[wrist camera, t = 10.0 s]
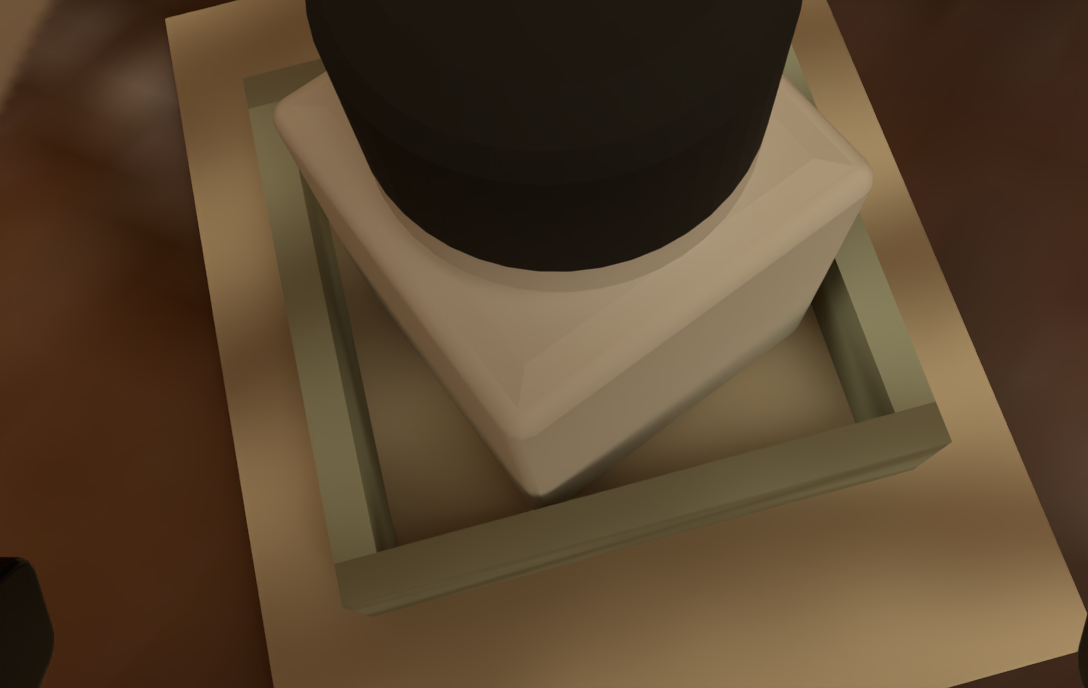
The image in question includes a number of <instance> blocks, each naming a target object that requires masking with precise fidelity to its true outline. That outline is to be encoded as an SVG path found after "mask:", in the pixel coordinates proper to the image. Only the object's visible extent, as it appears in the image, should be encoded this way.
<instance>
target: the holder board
mask: <svg viewBox="0 0 1088 688" xmlns="http://www.w3.org/2000/svg"><path fill="white" fill-rule="evenodd" d="M165 22H166V28H167V34H168V40H169V46H170V52H171V58H172V65H173V71H174V77H175V83H176V89H177V95H178V101H179V108H180V114H181V120H182V126H183V132H184V138H185V144H186V151H187V157H188V163H189V169H190V175H191V181H192V187H193V194H194V200H195V206H196V212H197V218H198V224H199V231H200V237H201V243H202V249H203V255H204V261H205V267H206V274H207V280H208V286H209V292H210V298H211V304H212V310H213V317H214V323H215V329H216V335H217V341H218V347H219V353H220V360H221V366H222V372H223V378H224V384H225V390H226V396H227V403H228V409H229V415H230V421H231V427H232V433H233V439H234V446H235V452H236V458H237V464H238V470H239V476H240V483H241V489H242V495H243V501H244V507H245V513H246V519H247V526H248V532H249V538H250V544H251V550H252V556H253V562H254V569H255V575H256V581H257V587H258V593H259V599H260V605H261V612H262V618H263V624H264V630H265V636H266V642H267V648H268V655H269V661H270V667H271V673H272V679H273V685H274V688H948V687H952V686H955V685H959V684H963V683H966V682H970V681H973V680H977V679H980V678H984V677H988V676H991V675H995V674H998V673H1002V672H1006V671H1009V670H1013V669H1016V668H1020V667H1024V666H1027V665H1031V664H1034V663H1038V662H1041V661H1045V660H1049V659H1052V658H1056V657H1059V656H1063V655H1067V654H1070V653H1074V652H1077V651H1078V647H1079V643H1080V639H1081V635H1082V631H1083V628H1084V624H1085V620H1086V616H1087V612H1086V610H1085V608H1084V605H1083V603H1082V600H1081V598H1080V596H1079V593H1078V591H1077V589H1076V586H1075V584H1074V582H1073V579H1072V577H1071V575H1070V572H1069V570H1068V567H1067V565H1066V563H1065V560H1064V558H1063V556H1062V553H1061V551H1060V549H1059V546H1058V544H1057V542H1056V539H1055V537H1054V535H1053V532H1052V530H1051V527H1050V525H1049V523H1048V520H1047V518H1046V516H1045V513H1044V511H1043V509H1042V506H1041V504H1040V502H1039V499H1038V497H1037V495H1036V492H1035V490H1034V487H1033V485H1032V483H1031V480H1030V478H1029V476H1028V473H1027V471H1026V469H1025V466H1024V464H1023V462H1022V459H1021V457H1020V454H1019V452H1018V450H1017V447H1016V445H1015V443H1014V440H1013V438H1012V436H1011V433H1010V431H1009V429H1008V426H1007V424H1006V422H1005V419H1004V417H1003V414H1002V412H1001V410H1000V407H999V405H998V403H997V400H996V398H995V396H994V393H993V391H992V389H991V386H990V384H989V382H988V379H987V377H986V374H985V372H984V370H983V367H982V365H981V363H980V360H979V358H978V356H977V353H976V351H975V349H974V346H973V344H972V342H971V339H970V337H969V334H968V332H967V330H966V327H965V325H964V323H963V320H962V318H961V316H960V313H959V311H958V309H957V306H956V304H955V301H954V299H953V297H952V294H951V292H950V290H949V287H948V285H947V283H946V280H945V278H944V276H943V273H942V271H941V269H940V266H939V264H938V261H937V259H936V257H935V254H934V252H933V250H932V247H931V245H930V243H929V240H928V238H927V236H926V233H925V231H924V229H923V226H922V224H921V221H920V219H919V217H918V214H917V212H916V210H915V207H914V205H913V203H912V200H911V198H910V196H909V193H908V191H907V189H906V186H905V184H904V181H903V179H902V177H901V174H900V172H899V170H898V167H897V165H896V163H895V160H894V158H893V156H892V153H891V151H890V148H889V146H888V144H887V141H886V139H885V137H884V134H883V132H882V130H881V127H880V125H879V123H878V120H877V118H876V116H875V113H874V111H873V108H872V106H871V104H870V101H869V99H868V97H867V94H866V92H865V90H864V87H863V85H862V83H861V80H860V78H859V76H858V73H857V71H856V68H855V66H854V64H853V61H852V59H851V57H850V54H849V52H848V50H847V47H846V45H845V43H844V40H843V38H842V36H841V33H840V31H839V28H838V26H837V24H836V21H835V19H834V17H833V14H832V12H831V10H830V7H829V5H828V3H827V0H803V1H802V7H801V12H800V15H799V18H798V22H797V25H796V29H795V32H794V36H793V39H792V43H791V46H790V50H789V53H788V57H787V60H786V64H785V67H784V71H783V75H784V76H785V77H786V78H787V79H788V80H789V81H790V82H791V83H792V84H793V85H794V86H795V87H796V88H797V89H798V90H799V91H800V92H801V93H802V94H803V95H804V96H805V97H806V98H807V99H808V100H809V101H810V102H811V103H812V105H813V106H814V107H815V108H816V109H817V110H818V111H819V112H820V113H821V114H822V115H823V116H824V117H825V118H826V119H827V120H828V121H829V122H830V123H831V124H832V125H833V126H834V127H835V128H836V129H837V130H838V131H839V132H840V133H841V134H842V135H843V136H844V137H845V138H846V139H847V141H848V142H849V143H850V144H851V145H852V146H853V147H854V148H855V149H856V150H857V151H858V152H859V153H860V154H861V155H862V156H863V157H864V158H865V159H866V160H867V161H868V163H869V164H870V166H871V168H872V170H873V184H872V188H871V190H870V192H869V194H868V196H867V198H866V199H865V201H864V203H863V205H862V207H861V209H860V211H859V213H858V215H857V216H856V218H855V220H854V222H853V224H852V226H851V228H850V230H849V232H848V233H847V235H846V237H845V239H844V241H843V243H842V245H841V247H840V249H839V250H838V252H837V254H836V256H835V258H834V260H833V262H832V264H831V266H830V267H829V269H828V271H827V273H826V275H825V277H824V279H823V281H822V283H821V284H820V286H819V288H818V290H817V292H816V294H815V296H814V298H813V300H812V301H811V303H810V305H809V307H808V309H807V311H806V313H805V315H804V317H803V318H802V320H801V322H800V324H799V326H798V327H797V328H796V330H795V331H794V332H793V333H791V334H790V335H789V336H787V337H786V338H785V339H783V340H782V341H781V342H779V343H778V344H777V345H775V346H774V347H773V348H771V349H770V350H769V351H767V352H766V353H765V354H763V355H762V356H761V357H759V358H758V359H757V360H755V361H754V362H752V363H751V364H750V365H748V366H747V367H746V368H744V369H743V370H742V371H740V372H739V373H738V374H736V375H735V376H734V377H732V378H731V379H730V380H728V381H727V382H726V383H724V384H723V385H722V386H720V387H719V388H718V389H716V390H715V391H714V392H712V393H711V394H709V395H708V396H707V397H705V398H704V399H703V400H701V401H700V402H699V403H697V404H696V405H695V406H693V407H692V408H691V409H689V410H688V411H687V412H685V413H684V414H683V415H681V416H680V417H679V418H677V419H676V420H675V421H673V422H672V423H671V424H669V425H668V426H666V427H665V428H664V429H662V430H661V431H660V432H658V433H657V434H656V435H654V436H653V437H652V438H650V439H649V440H648V441H646V442H645V443H644V444H642V445H641V446H640V447H638V448H637V449H636V450H634V451H633V452H632V453H630V454H629V455H628V456H626V457H625V458H623V459H622V460H621V461H619V462H618V463H617V464H615V465H614V466H613V467H611V468H610V469H609V470H607V471H606V472H605V473H603V474H602V475H601V476H599V477H598V478H597V479H595V480H594V481H593V482H591V483H590V484H589V485H587V486H586V487H584V488H583V489H582V490H580V491H579V492H578V493H576V494H575V495H574V496H572V497H571V498H570V499H568V500H567V501H566V502H562V503H558V504H555V505H551V506H547V507H543V508H540V509H536V510H534V509H533V508H532V507H531V506H530V505H529V504H528V503H527V501H526V500H525V499H524V497H523V496H522V495H521V493H520V492H519V491H518V489H517V488H516V486H515V485H514V484H513V482H512V481H511V480H510V478H509V477H508V476H507V474H506V473H505V471H504V470H503V469H502V467H501V466H500V465H499V463H498V462H497V461H496V459H495V458H494V456H493V455H492V454H491V452H490V451H489V450H488V448H487V447H486V446H485V444H484V443H483V441H482V440H481V439H480V437H479V436H478V435H477V433H476V432H475V431H474V429H473V428H472V426H471V425H470V424H469V422H468V421H467V420H466V418H465V417H464V416H463V414H462V413H461V411H460V410H459V409H458V407H457V406H456V405H455V403H454V402H453V401H452V399H451V398H450V396H449V395H448V394H447V392H446V391H445V390H444V388H443V387H442V386H441V384H440V383H439V381H438V380H437V379H436V377H435V376H434V375H433V373H432V372H431V371H430V369H429V368H428V366H427V365H426V364H425V362H424V361H423V360H422V358H421V357H420V356H419V354H418V353H417V352H416V350H415V349H414V347H413V346H412V345H411V343H410V342H409V341H408V339H407V338H406V337H405V335H404V334H403V332H402V331H401V330H400V328H399V327H398V326H397V324H396V323H395V322H394V320H393V319H392V317H391V316H390V315H389V313H388V312H387V311H386V309H385V308H384V307H383V305H382V304H381V302H380V301H379V300H378V298H377V297H376V296H375V294H374V293H373V292H372V290H371V289H370V287H369V286H368V285H367V283H366V282H365V281H364V279H363V278H362V276H361V274H360V273H359V271H358V269H357V268H356V266H355V264H354V262H353V261H352V259H351V257H350V255H349V254H348V252H347V250H346V249H345V247H344V245H343V243H342V242H341V240H340V238H339V237H338V235H337V233H336V231H335V230H334V228H333V226H332V225H331V223H330V221H329V219H328V218H327V216H326V214H325V213H324V211H323V209H322V207H321V206H320V204H319V202H318V201H317V199H316V197H315V195H314V194H313V192H312V190H311V188H310V187H309V185H308V183H307V182H306V180H305V178H304V176H303V175H302V173H301V171H300V170H299V168H298V166H297V164H296V163H295V161H294V159H293V158H292V156H291V154H290V152H289V151H288V149H287V147H286V146H285V144H284V142H283V140H282V139H281V137H280V135H279V134H278V132H277V130H276V127H275V124H274V120H273V114H274V110H275V106H276V105H277V104H278V103H279V102H280V101H281V100H282V99H283V98H285V97H286V96H288V95H290V94H291V93H293V92H294V91H296V90H297V89H299V88H300V87H302V86H304V85H305V84H307V83H308V82H310V81H311V80H313V79H315V78H316V77H318V76H319V75H321V74H322V73H324V72H326V69H325V67H324V64H323V62H322V60H321V58H320V55H319V53H318V51H317V49H316V46H315V44H314V42H313V38H312V34H311V30H310V26H309V22H308V18H307V14H306V4H305V0H237V1H233V2H229V3H225V4H221V5H217V6H214V7H210V8H206V9H202V10H198V11H194V12H190V13H186V14H182V15H178V16H174V17H170V18H166V19H165Z"/></svg>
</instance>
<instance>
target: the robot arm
mask: <svg viewBox="0 0 1088 688" xmlns="http://www.w3.org/2000/svg"><path fill="white" fill-rule="evenodd" d="M53 645H54V633H53V627H52V624H51V621H50V617H49V614H48V611H47V608H46V604H45V601H44V598H43V594H42V591H41V588H40V585H39V581H38V578H37V575H36V572H35V569H34V567H33V566H32V565H31V563H30V562H29V561H27V560H26V559H23V558H20V557H0V688H39V687H40V685H41V682H42V680H43V677H44V675H45V672H46V670H47V667H48V665H49V662H50V659H51V656H52V652H53ZM1077 663H1078V671H1079V677H1080V680H1081V684H1082V687H1083V688H1088V613H1087V616H1086V620H1085V624H1084V628H1083V631H1082V635H1081V639H1080V643H1079V647H1078V655H1077Z"/></svg>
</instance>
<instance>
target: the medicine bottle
mask: <svg viewBox="0 0 1088 688" xmlns="http://www.w3.org/2000/svg"><path fill="white" fill-rule="evenodd" d="M802 1H803V0H305V4H306V14H307V18H308V22H309V26H310V30H311V34H312V38H313V42H314V44H315V46H316V49H317V51H318V53H319V55H320V58H321V60H322V62H323V64H324V67H325V69H326V72H324V73H322V74H321V75H319V76H318V77H316V78H315V79H313V80H311V81H310V82H308V83H307V84H305V85H304V86H302V87H300V88H299V89H297V90H296V91H294V92H293V93H291V94H290V95H288V96H286V97H285V98H283V99H282V100H281V101H280V102H279V103H278V104H277V105H276V106H275V110H274V114H273V120H274V124H275V127H276V130H277V132H278V134H279V135H280V137H281V139H282V140H283V142H284V144H285V146H286V147H287V149H288V151H289V152H290V154H291V156H292V158H293V159H294V161H295V163H296V164H297V166H298V168H299V170H300V171H301V173H302V175H303V176H304V178H305V180H306V182H307V183H308V185H309V187H310V188H311V190H312V192H313V194H314V195H315V197H316V199H317V201H318V202H319V204H320V206H321V207H322V209H323V211H324V213H325V214H326V216H327V218H328V219H329V221H330V223H331V225H332V226H333V228H334V230H335V231H336V233H337V235H338V237H339V238H340V240H341V242H342V243H343V245H344V247H345V249H346V250H347V252H348V254H349V255H350V257H351V259H352V261H353V262H354V264H355V266H356V268H357V269H358V271H359V273H360V274H361V276H362V278H363V279H364V281H365V282H366V283H367V285H368V286H369V287H370V289H371V290H372V292H373V293H374V294H375V296H376V297H377V298H378V300H379V301H380V302H381V304H382V305H383V307H384V308H385V309H386V311H387V312H388V313H389V315H390V316H391V317H392V319H393V320H394V322H395V323H396V324H397V326H398V327H399V328H400V330H401V331H402V332H403V334H404V335H405V337H406V338H407V339H408V341H409V342H410V343H411V345H412V346H413V347H414V349H415V350H416V352H417V353H418V354H419V356H420V357H421V358H422V360H423V361H424V362H425V364H426V365H427V366H428V368H429V369H430V371H431V372H432V373H433V375H434V376H435V377H436V379H437V380H438V381H439V383H440V384H441V386H442V387H443V388H444V390H445V391H446V392H447V394H448V395H449V396H450V398H451V399H452V401H453V402H454V403H455V405H456V406H457V407H458V409H459V410H460V411H461V413H462V414H463V416H464V417H465V418H466V420H467V421H468V422H469V424H470V425H471V426H472V428H473V429H474V431H475V432H476V433H477V435H478V436H479V437H480V439H481V440H482V441H483V443H484V444H485V446H486V447H487V448H488V450H489V451H490V452H491V454H492V455H493V456H494V458H495V459H496V461H497V462H498V463H499V465H500V466H501V467H502V469H503V470H504V471H505V473H506V474H507V476H508V477H509V478H510V480H511V481H512V482H513V484H514V485H515V486H516V488H517V489H518V491H519V492H520V493H521V495H522V496H523V497H524V499H525V500H526V501H527V503H528V504H529V505H530V506H531V507H532V508H533V509H534V510H536V509H540V508H543V507H547V506H551V505H555V504H558V503H562V502H566V501H567V500H568V499H570V498H571V497H572V496H574V495H575V494H576V493H578V492H579V491H580V490H582V489H583V488H584V487H586V486H587V485H589V484H590V483H591V482H593V481H594V480H595V479H597V478H598V477H599V476H601V475H602V474H603V473H605V472H606V471H607V470H609V469H610V468H611V467H613V466H614V465H615V464H617V463H618V462H619V461H621V460H622V459H623V458H625V457H626V456H628V455H629V454H630V453H632V452H633V451H634V450H636V449H637V448H638V447H640V446H641V445H642V444H644V443H645V442H646V441H648V440H649V439H650V438H652V437H653V436H654V435H656V434H657V433H658V432H660V431H661V430H662V429H664V428H665V427H666V426H668V425H669V424H671V423H672V422H673V421H675V420H676V419H677V418H679V417H680V416H681V415H683V414H684V413H685V412H687V411H688V410H689V409H691V408H692V407H693V406H695V405H696V404H697V403H699V402H700V401H701V400H703V399H704V398H705V397H707V396H708V395H709V394H711V393H712V392H714V391H715V390H716V389H718V388H719V387H720V386H722V385H723V384H724V383H726V382H727V381H728V380H730V379H731V378H732V377H734V376H735V375H736V374H738V373H739V372H740V371H742V370H743V369H744V368H746V367H747V366H748V365H750V364H751V363H752V362H754V361H755V360H757V359H758V358H759V357H761V356H762V355H763V354H765V353H766V352H767V351H769V350H770V349H771V348H773V347H774V346H775V345H777V344H778V343H779V342H781V341H782V340H783V339H785V338H786V337H787V336H789V335H790V334H791V333H793V332H794V331H795V330H796V328H797V327H798V326H799V324H800V322H801V320H802V318H803V317H804V315H805V313H806V311H807V309H808V307H809V305H810V303H811V301H812V300H813V298H814V296H815V294H816V292H817V290H818V288H819V286H820V284H821V283H822V281H823V279H824V277H825V275H826V273H827V271H828V269H829V267H830V266H831V264H832V262H833V260H834V258H835V256H836V254H837V252H838V250H839V249H840V247H841V245H842V243H843V241H844V239H845V237H846V235H847V233H848V232H849V230H850V228H851V226H852V224H853V222H854V220H855V218H856V216H857V215H858V213H859V211H860V209H861V207H862V205H863V203H864V201H865V199H866V198H867V196H868V194H869V192H870V190H871V188H872V184H873V170H872V168H871V166H870V164H869V163H868V161H867V160H866V159H865V158H864V157H863V156H862V155H861V154H860V153H859V152H858V151H857V150H856V149H855V148H854V147H853V146H852V145H851V144H850V143H849V142H848V141H847V139H846V138H845V137H844V136H843V135H842V134H841V133H840V132H839V131H838V130H837V129H836V128H835V127H834V126H833V125H832V124H831V123H830V122H829V121H828V120H827V119H826V118H825V117H824V116H823V115H822V114H821V113H820V112H819V111H818V110H817V109H816V108H815V107H814V106H813V105H812V103H811V102H810V101H809V100H808V99H807V98H806V97H805V96H804V95H803V94H802V93H801V92H800V91H799V90H798V89H797V88H796V87H795V86H794V85H793V84H792V83H791V82H790V81H789V80H788V79H787V78H786V77H785V76H784V75H783V71H784V67H785V64H786V60H787V57H788V53H789V50H790V46H791V43H792V39H793V36H794V32H795V29H796V25H797V22H798V18H799V15H800V12H801V7H802Z"/></svg>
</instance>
